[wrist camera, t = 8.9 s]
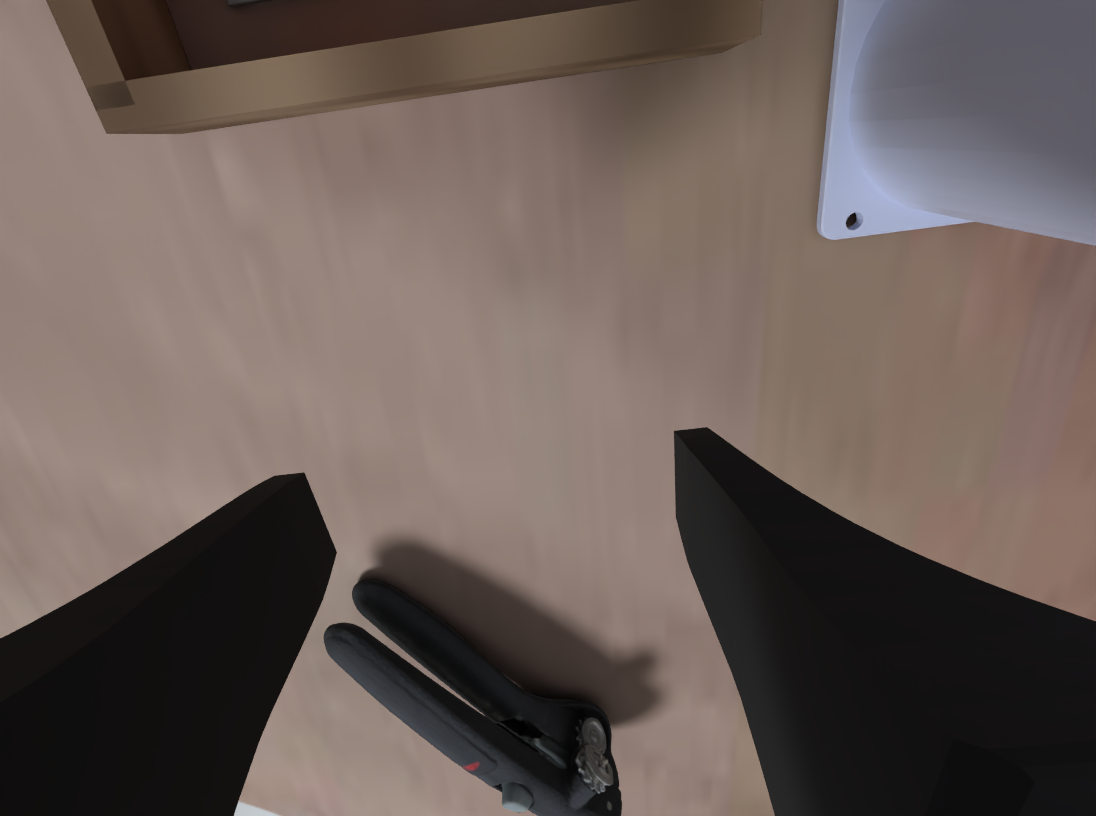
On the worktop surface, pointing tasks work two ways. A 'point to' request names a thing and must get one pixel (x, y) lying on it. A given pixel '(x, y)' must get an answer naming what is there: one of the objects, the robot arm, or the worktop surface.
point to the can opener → (463, 733)
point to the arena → (369, 60)
